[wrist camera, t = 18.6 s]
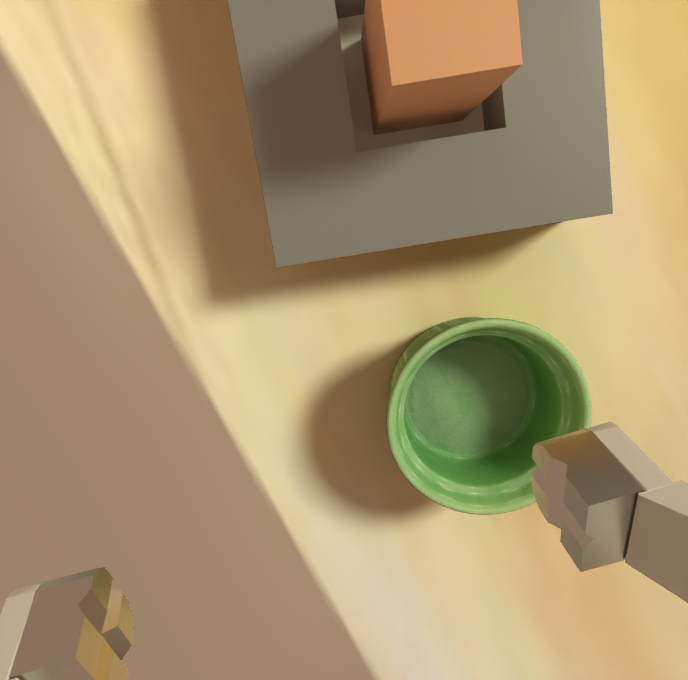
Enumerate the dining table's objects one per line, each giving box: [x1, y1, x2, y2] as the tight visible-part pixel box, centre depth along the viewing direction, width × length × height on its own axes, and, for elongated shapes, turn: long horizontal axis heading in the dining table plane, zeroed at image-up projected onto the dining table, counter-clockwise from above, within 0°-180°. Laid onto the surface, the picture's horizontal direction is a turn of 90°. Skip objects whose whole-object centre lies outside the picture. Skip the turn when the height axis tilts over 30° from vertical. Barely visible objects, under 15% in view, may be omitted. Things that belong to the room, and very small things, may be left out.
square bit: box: [361, 0, 523, 135], centre depth 20 cm, size 4×4×8 cm
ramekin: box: [386, 317, 591, 515], centre depth 25 cm, size 9×9×4 cm
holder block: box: [228, 0, 613, 268], centre depth 23 cm, size 14×14×4 cm
